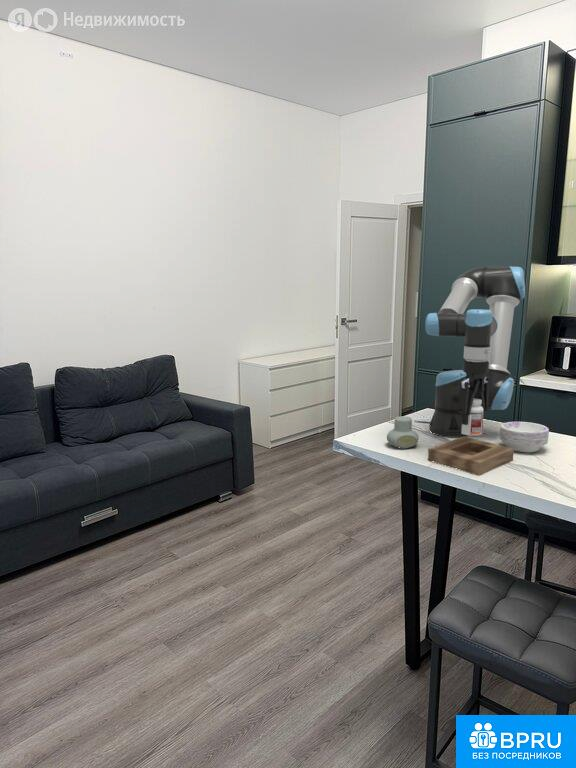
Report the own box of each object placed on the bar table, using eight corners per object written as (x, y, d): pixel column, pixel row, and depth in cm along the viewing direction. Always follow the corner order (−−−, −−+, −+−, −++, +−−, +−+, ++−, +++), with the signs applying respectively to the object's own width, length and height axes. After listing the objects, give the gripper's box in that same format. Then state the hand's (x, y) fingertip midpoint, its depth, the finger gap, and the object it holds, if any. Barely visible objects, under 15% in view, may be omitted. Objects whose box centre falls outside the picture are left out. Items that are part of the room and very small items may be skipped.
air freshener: (390, 450, 186) (391, 422, 184) (383, 443, 194) (384, 415, 192) (421, 449, 187) (422, 420, 185) (413, 441, 195) (414, 414, 193)
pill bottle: (466, 429, 178) (468, 396, 176) (485, 433, 174) (487, 399, 171) (458, 433, 173) (460, 399, 171) (477, 437, 169) (479, 402, 167)
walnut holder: (428, 460, 176) (428, 448, 175) (463, 447, 188) (463, 436, 188) (478, 475, 162) (479, 462, 161) (513, 460, 175) (513, 448, 174)
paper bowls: (509, 439, 197) (510, 418, 196) (553, 448, 187) (555, 425, 185) (491, 449, 186) (492, 426, 185) (537, 459, 176) (539, 435, 175)
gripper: (469, 364, 160) (465, 440, 164) (503, 358, 172) (498, 429, 176) (447, 361, 166) (444, 435, 170) (482, 355, 178) (477, 424, 182)
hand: (471, 432), depth 173 cm, fingers closed on pill bottle, 6 cm apart
